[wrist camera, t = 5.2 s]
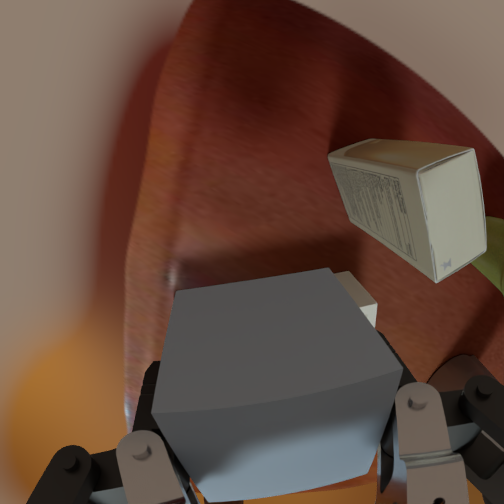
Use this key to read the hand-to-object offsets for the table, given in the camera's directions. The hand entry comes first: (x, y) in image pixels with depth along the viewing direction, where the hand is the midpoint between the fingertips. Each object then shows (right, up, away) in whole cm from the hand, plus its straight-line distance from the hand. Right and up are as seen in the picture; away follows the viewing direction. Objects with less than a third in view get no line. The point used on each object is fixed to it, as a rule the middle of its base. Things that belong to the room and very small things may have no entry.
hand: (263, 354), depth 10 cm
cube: (0, 0, +1) cm, 1 cm away
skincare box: (+8, +10, +14) cm, 19 cm away
